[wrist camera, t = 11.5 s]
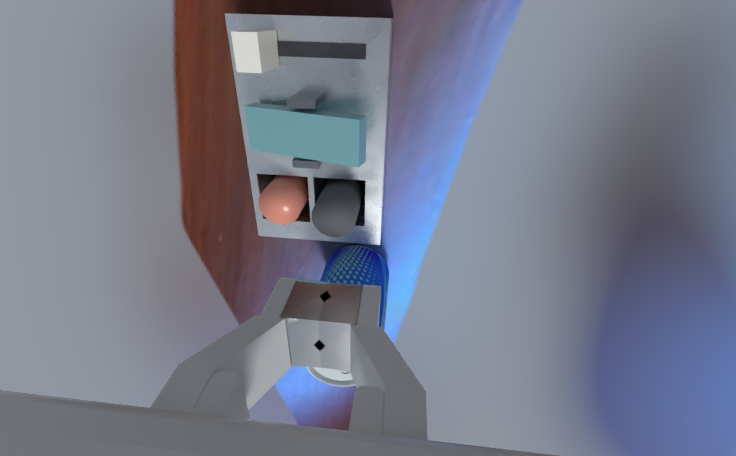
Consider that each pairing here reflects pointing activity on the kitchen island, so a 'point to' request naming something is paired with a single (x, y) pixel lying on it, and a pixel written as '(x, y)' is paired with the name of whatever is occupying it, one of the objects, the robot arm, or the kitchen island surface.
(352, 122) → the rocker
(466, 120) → the kitchen island surface
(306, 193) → the pink rounded cylinder
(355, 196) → the black button
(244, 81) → the switch box
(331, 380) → the beer can
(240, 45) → the slider knob
